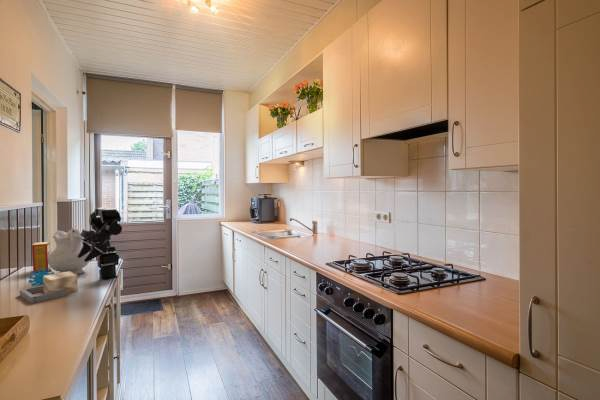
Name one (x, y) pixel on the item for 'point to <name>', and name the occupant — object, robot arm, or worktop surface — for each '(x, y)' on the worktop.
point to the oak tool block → (60, 282)
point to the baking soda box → (40, 256)
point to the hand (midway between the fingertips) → (81, 259)
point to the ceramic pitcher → (67, 252)
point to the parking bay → (31, 298)
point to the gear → (39, 276)
